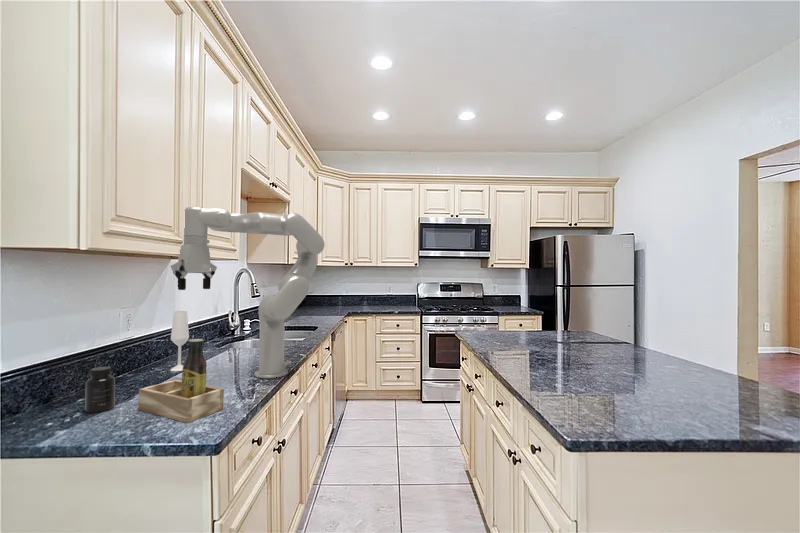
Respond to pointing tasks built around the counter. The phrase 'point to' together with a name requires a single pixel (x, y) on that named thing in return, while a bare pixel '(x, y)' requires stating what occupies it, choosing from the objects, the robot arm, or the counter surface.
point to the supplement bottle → (100, 390)
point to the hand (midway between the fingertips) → (194, 289)
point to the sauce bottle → (194, 370)
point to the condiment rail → (179, 401)
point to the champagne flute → (179, 334)
